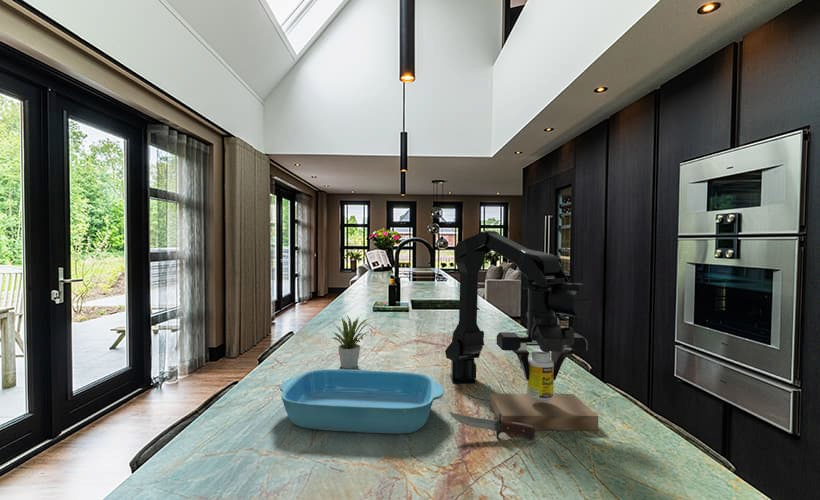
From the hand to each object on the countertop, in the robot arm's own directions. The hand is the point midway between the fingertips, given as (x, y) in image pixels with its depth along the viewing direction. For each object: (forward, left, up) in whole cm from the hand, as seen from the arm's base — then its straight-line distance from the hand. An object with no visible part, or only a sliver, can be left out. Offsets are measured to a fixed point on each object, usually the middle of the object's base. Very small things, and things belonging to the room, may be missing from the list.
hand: (540, 379), depth 85 cm
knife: (-13, -9, -9) cm, 18 cm away
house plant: (-47, +36, -9) cm, 60 cm away
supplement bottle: (0, 0, -4) cm, 4 cm away
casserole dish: (-40, +1, -9) cm, 41 cm away
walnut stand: (0, 0, -8) cm, 8 cm away
